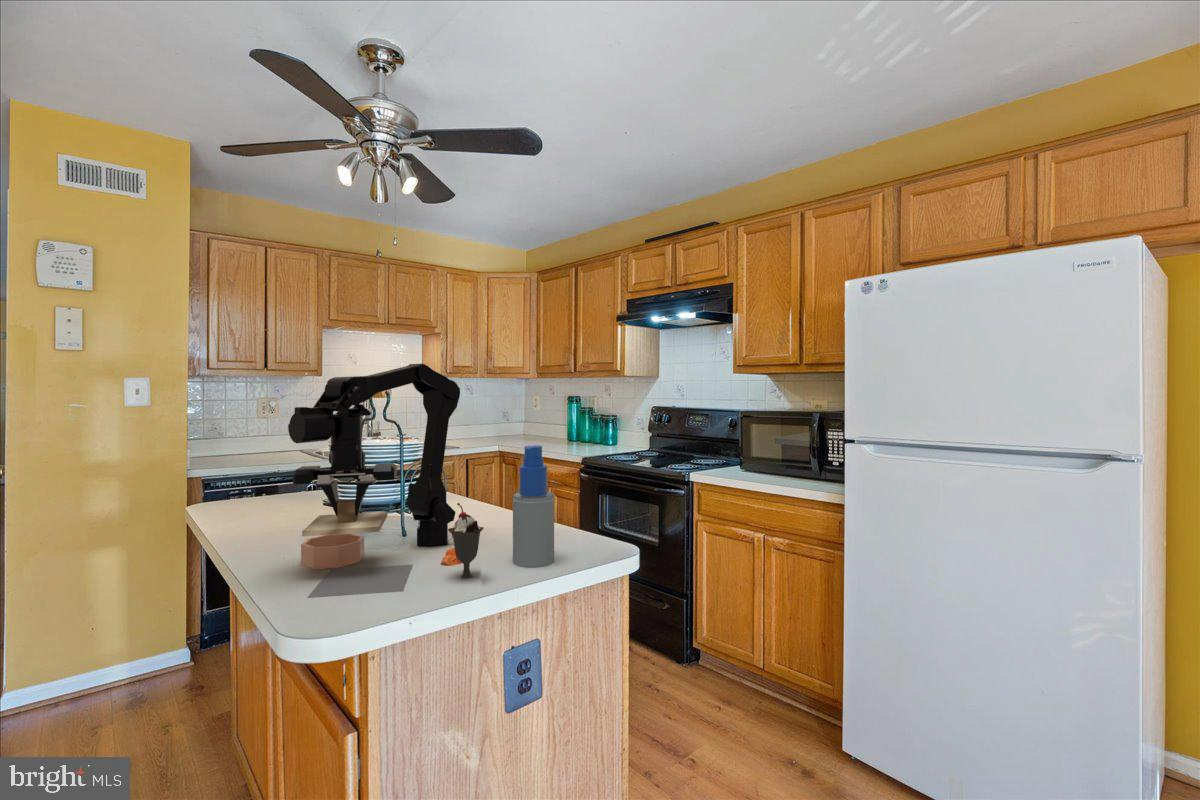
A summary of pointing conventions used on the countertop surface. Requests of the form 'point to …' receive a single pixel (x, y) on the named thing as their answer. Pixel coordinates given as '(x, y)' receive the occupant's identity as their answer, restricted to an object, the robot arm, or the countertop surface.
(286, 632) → the countertop surface
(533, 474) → the spray bottle
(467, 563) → the sundae
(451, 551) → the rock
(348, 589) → the mat
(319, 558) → the bowl
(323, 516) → the lid
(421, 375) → the robot arm
